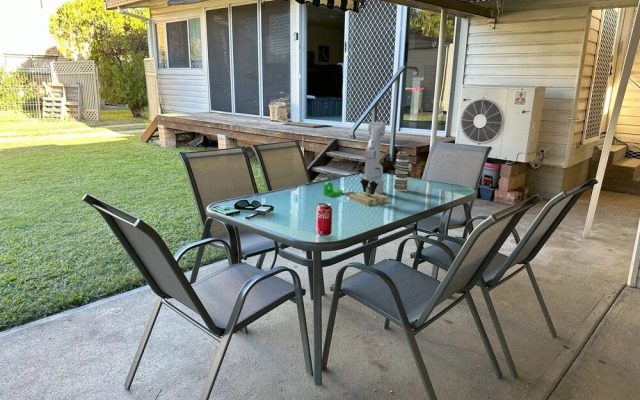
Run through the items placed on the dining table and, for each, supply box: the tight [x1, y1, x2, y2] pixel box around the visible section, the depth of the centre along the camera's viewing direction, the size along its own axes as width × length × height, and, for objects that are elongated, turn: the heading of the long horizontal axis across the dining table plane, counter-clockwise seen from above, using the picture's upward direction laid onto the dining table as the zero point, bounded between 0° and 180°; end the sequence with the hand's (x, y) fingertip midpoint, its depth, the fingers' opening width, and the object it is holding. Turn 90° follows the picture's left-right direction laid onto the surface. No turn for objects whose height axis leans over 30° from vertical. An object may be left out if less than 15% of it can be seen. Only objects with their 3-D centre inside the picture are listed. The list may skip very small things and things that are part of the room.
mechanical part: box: [323, 181, 344, 198], centre depth 262 cm, size 12×6×8 cm, turn 131°
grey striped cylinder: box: [393, 150, 410, 192], centre depth 277 cm, size 9×9×25 cm
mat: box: [342, 191, 357, 198], centre depth 265 cm, size 10×10×1 cm
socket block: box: [348, 191, 389, 206], centre depth 250 cm, size 16×16×3 cm
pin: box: [365, 187, 371, 197], centre depth 250 cm, size 3×3×8 cm
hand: (368, 193), depth 250 cm, fingers open, 5 cm apart
